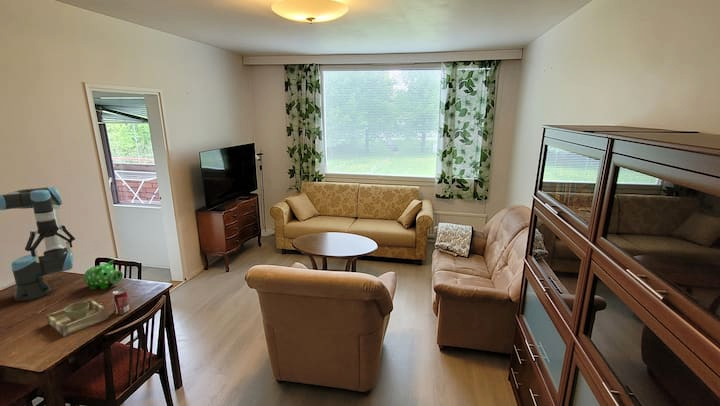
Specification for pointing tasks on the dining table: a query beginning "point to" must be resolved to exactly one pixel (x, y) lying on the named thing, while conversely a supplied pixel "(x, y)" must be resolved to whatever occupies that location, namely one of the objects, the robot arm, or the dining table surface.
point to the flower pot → (77, 310)
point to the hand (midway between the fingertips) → (54, 257)
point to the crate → (68, 326)
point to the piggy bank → (102, 276)
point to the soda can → (120, 301)
